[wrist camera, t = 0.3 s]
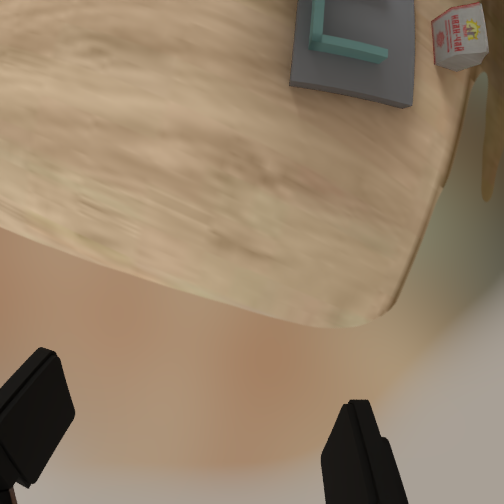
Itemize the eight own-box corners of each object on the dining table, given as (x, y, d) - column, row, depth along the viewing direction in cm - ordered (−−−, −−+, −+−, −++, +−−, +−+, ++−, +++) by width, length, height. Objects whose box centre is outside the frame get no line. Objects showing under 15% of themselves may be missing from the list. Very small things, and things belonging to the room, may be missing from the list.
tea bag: (453, 29, 29) (492, 8, 19) (456, 71, 31) (500, 58, 21) (431, 21, 29) (468, -4, 19) (434, 64, 31) (475, 46, 21)
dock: (301, -44, 27) (305, -68, 21) (403, -20, 27) (420, -38, 21) (289, 85, 33) (293, 74, 27) (402, 108, 33) (423, 103, 27)
